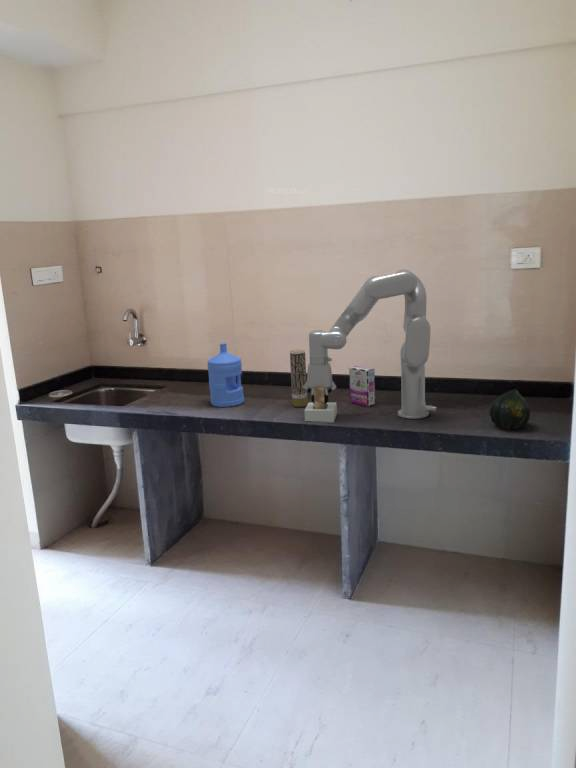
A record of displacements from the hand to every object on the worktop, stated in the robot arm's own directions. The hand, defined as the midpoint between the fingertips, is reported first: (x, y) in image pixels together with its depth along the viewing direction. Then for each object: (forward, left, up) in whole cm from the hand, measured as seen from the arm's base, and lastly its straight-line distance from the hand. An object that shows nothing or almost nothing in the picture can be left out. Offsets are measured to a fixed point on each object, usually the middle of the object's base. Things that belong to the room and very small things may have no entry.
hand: (320, 403), depth 265 cm
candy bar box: (-16, -22, -7) cm, 28 cm away
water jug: (+47, -23, -7) cm, 53 cm away
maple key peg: (0, 0, -3) cm, 3 cm away
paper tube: (+12, -19, -7) cm, 23 cm away
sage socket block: (0, 0, -6) cm, 6 cm away
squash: (-74, +10, -7) cm, 75 cm away
